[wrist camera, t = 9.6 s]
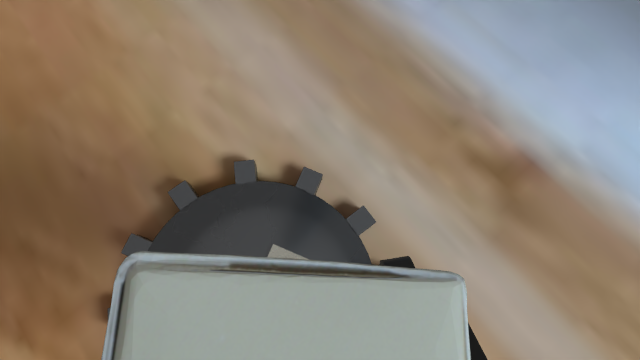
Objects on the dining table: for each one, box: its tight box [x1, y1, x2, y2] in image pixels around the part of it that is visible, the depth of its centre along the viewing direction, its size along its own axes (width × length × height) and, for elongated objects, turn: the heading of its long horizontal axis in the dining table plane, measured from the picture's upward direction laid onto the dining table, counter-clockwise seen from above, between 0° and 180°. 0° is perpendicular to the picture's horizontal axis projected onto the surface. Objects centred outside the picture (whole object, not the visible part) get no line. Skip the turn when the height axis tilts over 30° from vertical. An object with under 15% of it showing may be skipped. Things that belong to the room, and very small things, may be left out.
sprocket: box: [108, 160, 376, 319], centre depth 24 cm, size 16×16×1 cm
